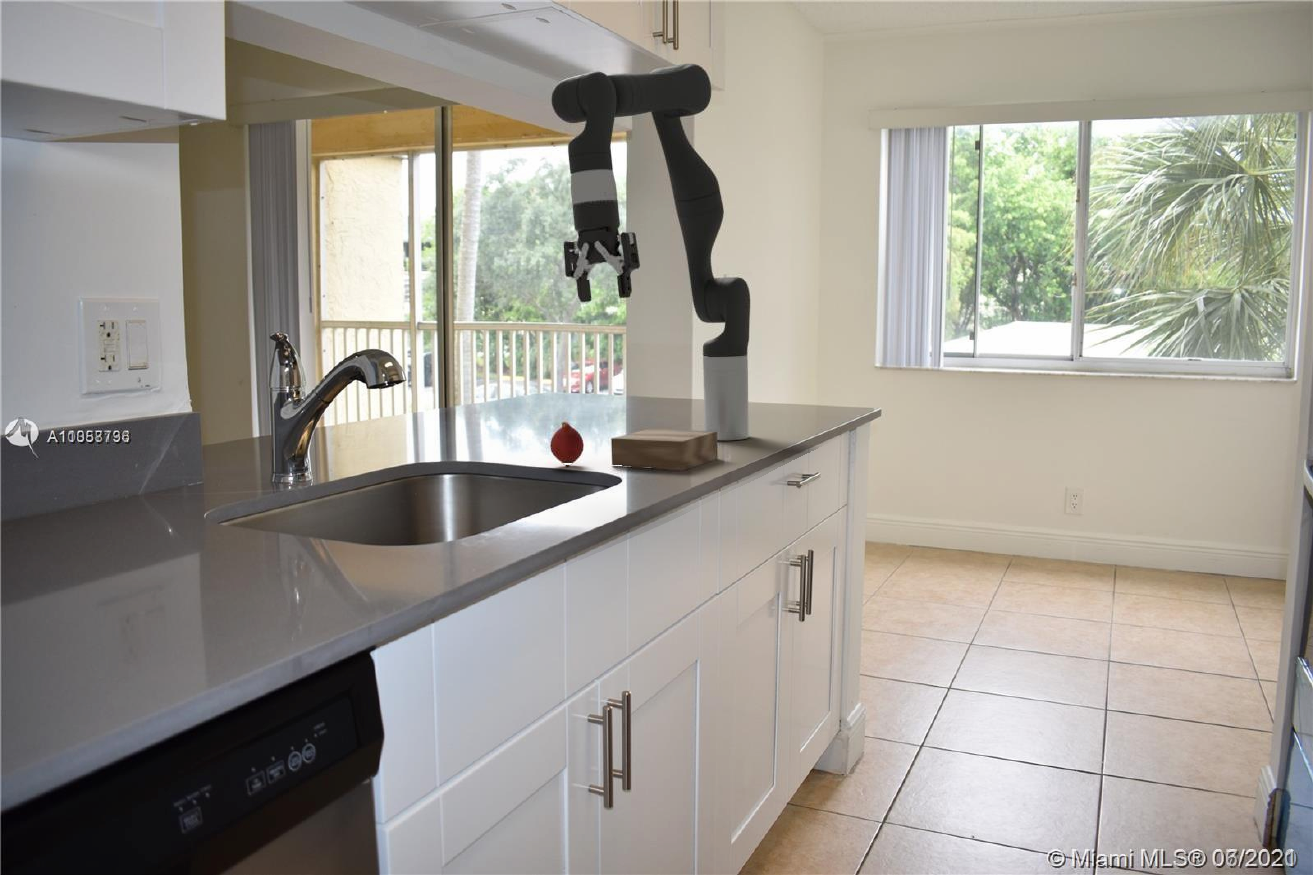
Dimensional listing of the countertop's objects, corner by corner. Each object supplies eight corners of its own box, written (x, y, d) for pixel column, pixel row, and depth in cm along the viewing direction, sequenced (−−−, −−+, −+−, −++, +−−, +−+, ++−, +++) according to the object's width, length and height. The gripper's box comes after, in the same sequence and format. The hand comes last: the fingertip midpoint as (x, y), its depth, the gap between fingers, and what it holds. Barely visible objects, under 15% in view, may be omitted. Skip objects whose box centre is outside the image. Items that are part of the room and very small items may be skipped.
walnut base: (650, 455, 188) (649, 428, 188) (717, 458, 182) (717, 431, 181) (612, 466, 176) (611, 438, 175) (682, 470, 169) (682, 441, 169)
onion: (572, 462, 182) (570, 418, 181) (590, 465, 178) (589, 421, 177) (545, 466, 179) (543, 421, 178) (563, 469, 174) (561, 424, 173)
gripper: (642, 195, 163) (652, 295, 165) (577, 207, 171) (587, 301, 174) (613, 194, 157) (624, 298, 159) (547, 206, 166) (558, 304, 168)
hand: (605, 299), depth 166 cm, fingers open, 8 cm apart
